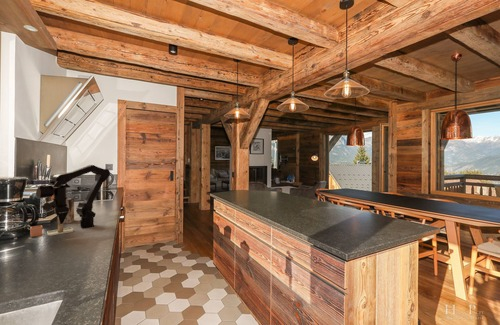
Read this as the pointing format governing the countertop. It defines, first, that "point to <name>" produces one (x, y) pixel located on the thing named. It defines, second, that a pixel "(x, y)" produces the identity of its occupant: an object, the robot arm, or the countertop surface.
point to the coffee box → (70, 210)
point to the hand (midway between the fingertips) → (60, 222)
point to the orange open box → (36, 231)
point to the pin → (60, 226)
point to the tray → (65, 230)
